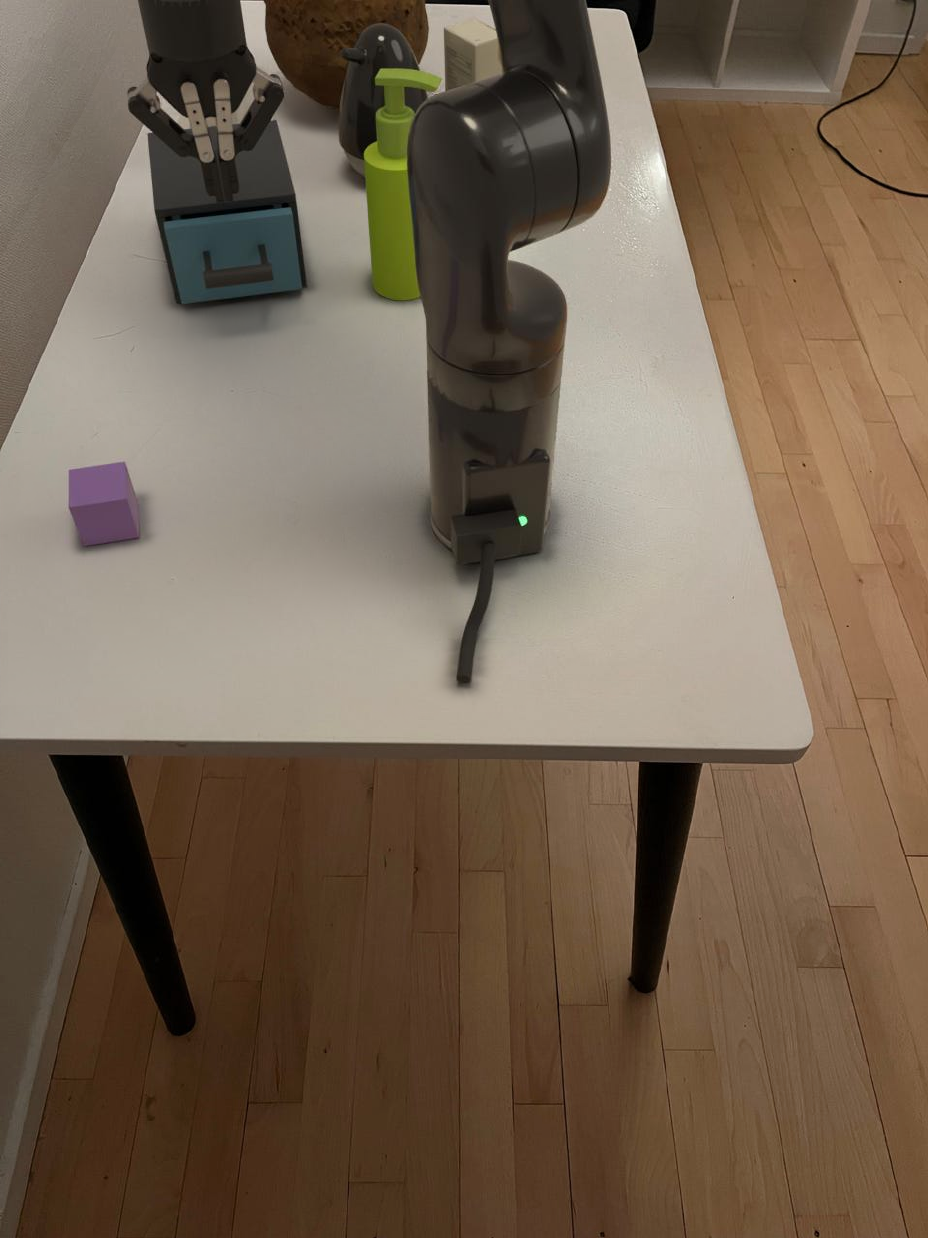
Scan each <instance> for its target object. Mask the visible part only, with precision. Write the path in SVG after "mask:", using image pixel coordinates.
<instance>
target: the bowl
mask: <svg viewBox="0 0 928 1238" xmlns="http://www.w3.org/2000/svg"><path fill="white" fill-rule="evenodd" d="M263 3H264V5H265V8H264V9H265V10H264V12H265V14H264V15H265V16H264V31H265V37H266V42H267V46H268V48H269V51H270V53H271V56H272V58H273V60H274V62H275V64H276V65H277V68H278V70H279V71H280V72H281V74H282V75H283V76H284V78H285V79H286V80H287V81H288V82H289V83H290V84H291V85H292V87H294V89H296V90H297V91H299V92H300V93H302V94H304V95H305V96H306V97H308V98H310V99H311V101H314V103H317V104H319V105H320V106H324V107H329V108H335V109H339V106H340V96H341V90H342V84H343V79H344V74H345V70H346V66H347V62H348V60H344V59H342V57H341V50H342V49H343V48H352V47H353V45H354V43H355V41H356V39H357V37H358V36H359V34H360V33H361V32H362V31H363V30H364V29H365V28H366V27H368V26H370V25H372V24H375V23H386V24H390V25H392V26H394V27H396V28H397V29H398V30H399V31H400V32H401V33H402V34H403V35H404V37H405V38H406V40H407V41H408V43H409V45H410V47H411V49H412V51H413V53H414V55H415V57H416V60H417V62H418V65H419V66H420V64H421V62H422V59H423V57H424V55H425V52H426V49H427V46H428V42H429V41H428V40H429V31H430V25H429V17H428V12H427V8H426V0H263Z"/></svg>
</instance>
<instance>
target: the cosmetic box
mask: <svg viewBox="0 0 928 1238" xmlns="http://www.w3.org/2000/svg"><path fill="white" fill-rule="evenodd" d="M443 51H444V91H447V90H451V89H454V88H457V87H460V86H463V85H467V84H470V83H473V82H476V81H480V80H483V79H486V78H489V77H493V76H496V75H499V74H502V63H501V56H500V49H499V43H498V38H497V33H496V29H495V27H492V26H490V25H489V24H487V23H485V22H483V21H481V20H479V19H477V18H471V19H468V20H463V21H460V22H457V23H456V22H455V23H453V24H449V25H445V26H443Z"/></svg>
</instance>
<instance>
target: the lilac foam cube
mask: <svg viewBox="0 0 928 1238" xmlns="http://www.w3.org/2000/svg"><path fill="white" fill-rule="evenodd" d="M135 491H136V490H135V488H134V485H133V482H132V479H131V476H130V472H129V470H128V466H127V464H126V462H125V461H120V462H113V463H112V462H111V463H106V464H99V465H92V466H85V467H79V468H78V467H77V468H71V469H68V509H69V512H70V515H71V517H72V520H73V522H74V525H75V527H76V530H77V532H78V535H79V537H80V540H81V542H82V545H83V546H84V547H88V546H95V545H102V544H107V543H114V542H115V543H116V542H120V541H126V540H133V539H138V538H140V521H139V519H140V518H139V502H138V498H137V495H136V492H135Z"/></svg>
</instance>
